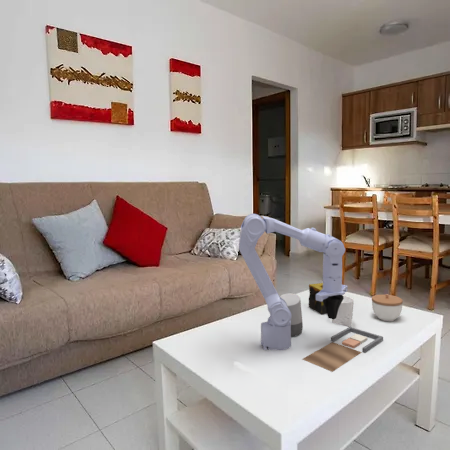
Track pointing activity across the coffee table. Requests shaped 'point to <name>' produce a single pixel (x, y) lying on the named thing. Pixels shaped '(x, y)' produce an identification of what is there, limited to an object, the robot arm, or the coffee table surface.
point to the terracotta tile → (351, 343)
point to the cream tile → (359, 338)
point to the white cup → (345, 312)
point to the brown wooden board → (332, 356)
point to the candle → (313, 303)
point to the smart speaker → (294, 312)
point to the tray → (377, 338)
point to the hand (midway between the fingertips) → (332, 318)
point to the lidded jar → (387, 307)
